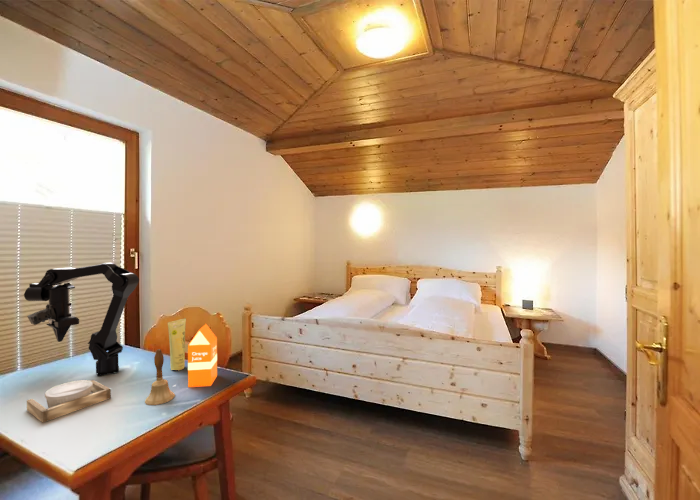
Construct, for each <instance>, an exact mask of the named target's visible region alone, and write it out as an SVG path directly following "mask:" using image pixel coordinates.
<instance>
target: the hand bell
mask: <svg viewBox="0 0 700 500" xmlns="http://www.w3.org/2000/svg"><path fill="white" fill-rule="evenodd" d="M164 358H165V357H164V354H163V351H162V349H160V348H158V349H156V350H155V354H154V366H155V370H156V374H155V375H156V376H155V377H156V380H155V381H153V382H152V384H151V385H150V386H151V387H150V388H151V389H150V392H149V395H148V396H147V397H146V398H145V400H144V404H145V405H147V406H158V405H163V404H165V403H167V402H170V401H172V400H173V399H174V398H175V397H176V395H175V393H174V392H173V391H172V390H171V389H170V387H169V382H168V380H167V379H164V377H163V376H164V375H163V365H164V362H165V360H164Z"/></svg>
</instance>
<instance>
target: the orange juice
mask: <svg viewBox="0 0 700 500" xmlns="http://www.w3.org/2000/svg"><path fill="white" fill-rule="evenodd" d="M217 377H218V337H217V335H216V334H214V332H213V331H212V329H211V328H210V327H209V325H208V324H207V323H205V324H204V325H202V327H200V328H199V329H198V331H197V332H196V334H195V335H194V336H193V338H192V339H191V340H190V342H189V343H188V345H187V380H188V381H187V382H188V383H187V387H188V388H196V387H197V388H198V387H211V386H212V385H213V383H214V381H215V380H216V378H217Z"/></svg>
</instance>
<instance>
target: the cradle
mask: <svg viewBox="0 0 700 500" xmlns="http://www.w3.org/2000/svg"><path fill="white" fill-rule="evenodd" d="M90 381H91V382H92V383H93V386H92V389H91V394H90V395H87V396H84V397H81V398H78V399H75V400H72V401H69V402H66V403H63V404H60V405H57V406H54V407H51V408H48V407H47V408H46V407H45V406H43V405H42V404H40V403H39V402H37V401H36V400H35V399H34V398H30V399H27V400H26V411H27V412H28V411H29V412H28V413H29V414H31V415H33V416H34V417H35V418H36V419H38V421H40V422H41V423H46V422H49V421H52V420H54V419H58V418H60V417H62V416H65V415H69V414H70V413H74V412H76V411H78V410H81V409H85V408H87V407H90V406H93V405H96V404H99V403H100V402H103V401H106V400H110V399H111V398H112V389H111V388H110V387H108V386H106V385H104V384H102V383H100V382H98V381H96V380H94V379H92V380H90Z"/></svg>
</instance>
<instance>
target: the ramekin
mask: <svg viewBox="0 0 700 500" xmlns="http://www.w3.org/2000/svg"><path fill="white" fill-rule="evenodd" d="M91 381H92V380H86V379H82V380H72V381H67V382H64V383H61V384H60V383H59V384H57V385H54V386H53V387H51V388H49V389H48V390H46V391H45V393H44V398H45V399H46V404H47V409H48V408H51V407H54V406H57V405H60V404H63V403H66V402H69V401H72V400H75V399H78V398H81V397H84V396H87V395H90V394H92V391H91V389H92V386H93V383H92V382H91Z"/></svg>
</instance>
